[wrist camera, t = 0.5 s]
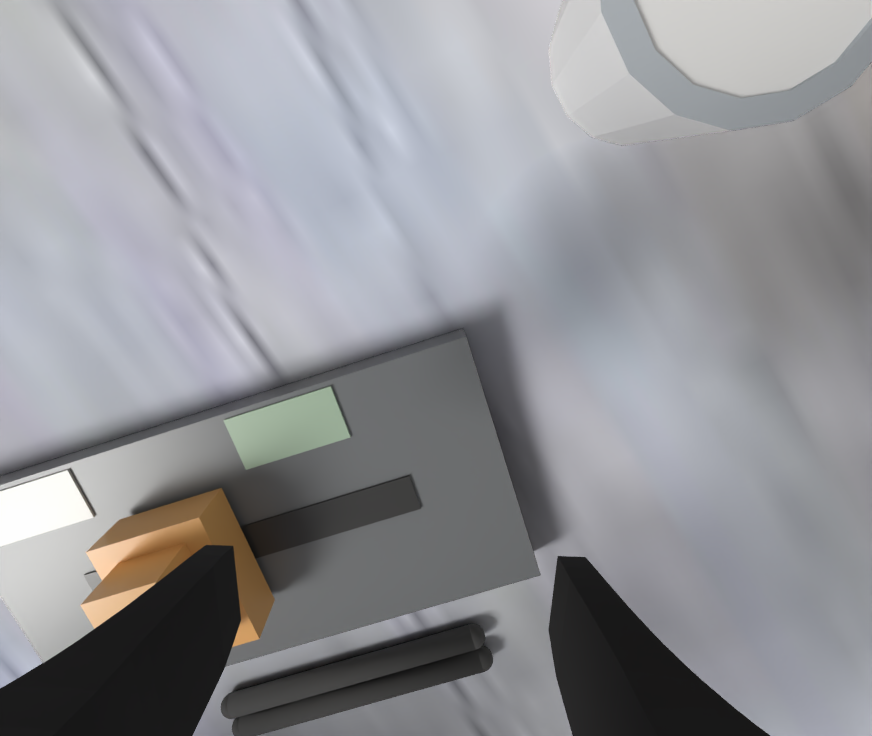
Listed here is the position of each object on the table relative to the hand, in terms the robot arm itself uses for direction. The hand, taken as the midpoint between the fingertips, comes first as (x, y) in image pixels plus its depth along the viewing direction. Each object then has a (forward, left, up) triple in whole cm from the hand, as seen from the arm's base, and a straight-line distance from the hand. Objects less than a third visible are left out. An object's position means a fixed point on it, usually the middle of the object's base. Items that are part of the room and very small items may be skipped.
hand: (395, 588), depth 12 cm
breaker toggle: (-9, -2, -7) cm, 12 cm away
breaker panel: (-7, -2, -9) cm, 11 cm away
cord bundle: (-6, -11, -9) cm, 15 cm away
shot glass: (+11, +10, -9) cm, 18 cm away
